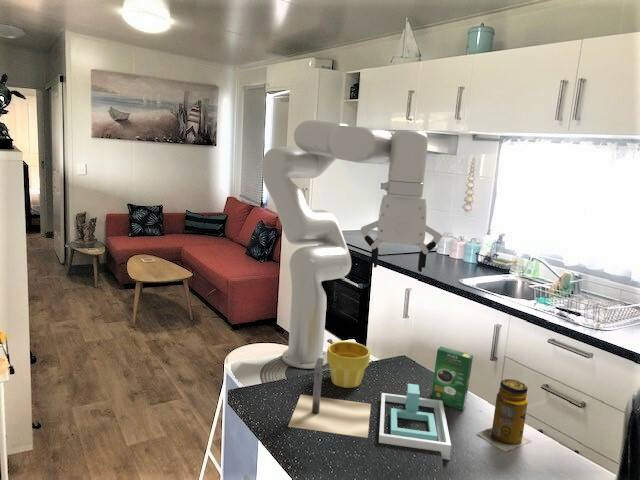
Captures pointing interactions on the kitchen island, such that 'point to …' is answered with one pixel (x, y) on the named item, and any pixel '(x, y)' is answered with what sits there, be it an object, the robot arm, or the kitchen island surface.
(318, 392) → the stake
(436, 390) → the coffee box
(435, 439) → the teal frame with handle
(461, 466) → the kitchen island surface
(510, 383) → the condiment
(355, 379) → the plant pot
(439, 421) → the white rectangular frame
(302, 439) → the kitchen island surface
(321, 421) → the board
